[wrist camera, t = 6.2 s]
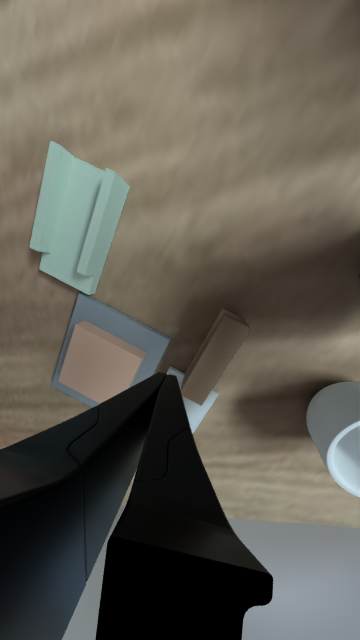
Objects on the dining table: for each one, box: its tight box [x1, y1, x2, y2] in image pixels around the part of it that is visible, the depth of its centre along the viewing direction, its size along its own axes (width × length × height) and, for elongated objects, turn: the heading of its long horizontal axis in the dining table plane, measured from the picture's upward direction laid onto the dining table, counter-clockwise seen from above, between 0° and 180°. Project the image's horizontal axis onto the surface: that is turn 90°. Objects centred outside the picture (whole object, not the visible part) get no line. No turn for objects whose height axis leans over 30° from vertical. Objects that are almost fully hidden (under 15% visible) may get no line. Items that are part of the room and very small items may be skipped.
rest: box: [30, 140, 130, 295], centre depth 16 cm, size 5×10×2 cm, turn 154°
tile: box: [58, 321, 146, 403], centre depth 19 cm, size 7×2×7 cm
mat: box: [51, 293, 171, 408], centre depth 20 cm, size 10×12×1 cm
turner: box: [166, 308, 251, 434], centre depth 18 cm, size 6×15×3 cm, turn 153°
